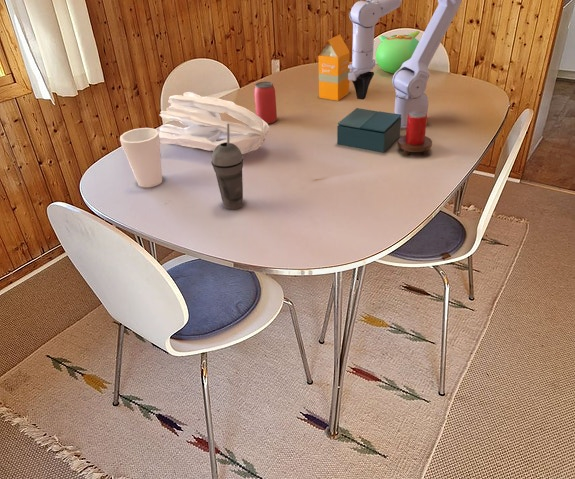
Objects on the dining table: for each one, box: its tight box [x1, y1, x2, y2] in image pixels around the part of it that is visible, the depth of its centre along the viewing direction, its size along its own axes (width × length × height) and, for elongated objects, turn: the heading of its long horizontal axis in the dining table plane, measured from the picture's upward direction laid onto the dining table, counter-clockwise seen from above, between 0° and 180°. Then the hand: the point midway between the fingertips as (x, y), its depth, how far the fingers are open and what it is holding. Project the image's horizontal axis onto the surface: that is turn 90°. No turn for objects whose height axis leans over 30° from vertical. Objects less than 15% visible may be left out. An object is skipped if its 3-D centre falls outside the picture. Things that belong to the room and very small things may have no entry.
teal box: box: [336, 110, 402, 154], centre depth 141 cm, size 14×13×7 cm
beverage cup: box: [210, 124, 244, 211], centre depth 112 cm, size 7×7×20 cm
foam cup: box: [119, 127, 163, 189], centre depth 126 cm, size 10×9×13 cm
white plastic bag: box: [158, 91, 270, 155], centre depth 140 cm, size 17×18×35 cm
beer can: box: [253, 80, 278, 125], centre depth 157 cm, size 7×7×12 cm
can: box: [405, 111, 428, 145], centre depth 131 cm, size 5×5×8 cm
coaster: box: [397, 134, 433, 156], centre depth 135 cm, size 9×9×4 cm
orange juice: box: [317, 33, 351, 102], centre depth 171 cm, size 8×9×20 cm
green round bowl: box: [375, 30, 421, 74], centre depth 191 cm, size 18×17×15 cm
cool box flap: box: [337, 107, 379, 128], centre depth 141 cm, size 7×13×1 cm, turn 149°
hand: (361, 98), depth 143 cm, fingers closed
